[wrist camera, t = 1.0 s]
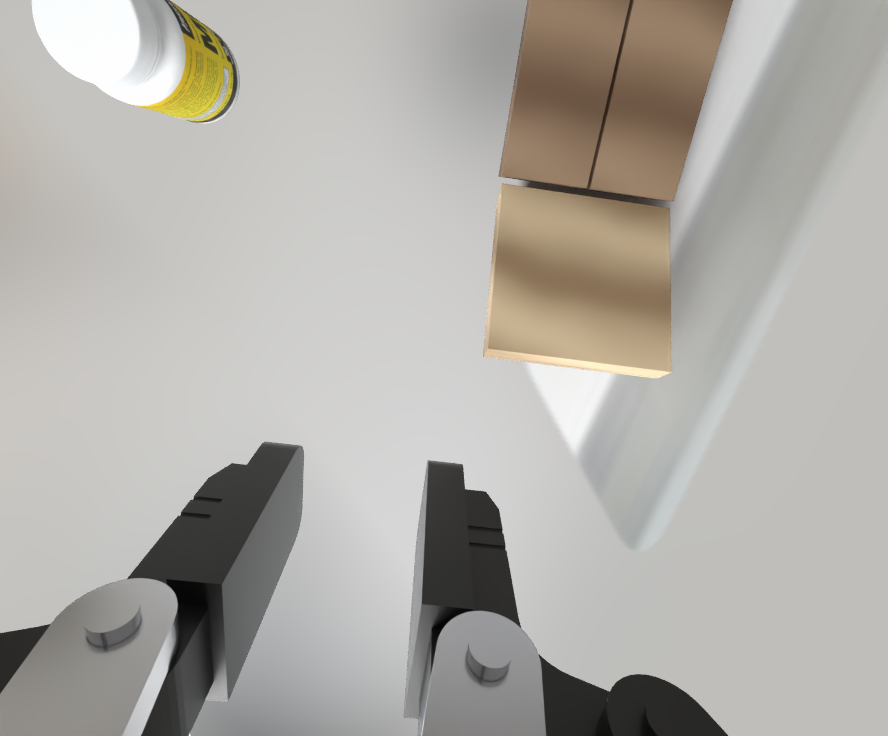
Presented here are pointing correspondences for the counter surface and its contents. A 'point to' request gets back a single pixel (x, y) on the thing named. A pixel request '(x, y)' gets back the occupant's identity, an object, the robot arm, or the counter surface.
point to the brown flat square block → (610, 92)
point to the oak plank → (580, 283)
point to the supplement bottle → (142, 54)
